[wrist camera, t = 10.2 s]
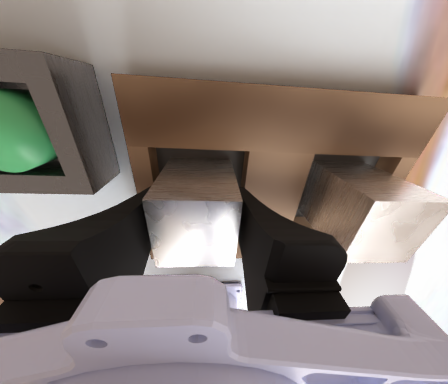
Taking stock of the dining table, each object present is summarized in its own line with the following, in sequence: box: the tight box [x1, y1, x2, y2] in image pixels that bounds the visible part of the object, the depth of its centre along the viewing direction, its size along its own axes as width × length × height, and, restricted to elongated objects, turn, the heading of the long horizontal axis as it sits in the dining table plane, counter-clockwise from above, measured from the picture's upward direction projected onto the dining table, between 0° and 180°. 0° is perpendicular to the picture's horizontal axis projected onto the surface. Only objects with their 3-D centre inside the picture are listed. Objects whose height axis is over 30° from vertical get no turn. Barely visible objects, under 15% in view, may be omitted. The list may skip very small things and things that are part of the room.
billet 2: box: [298, 161, 448, 263], centre depth 12 cm, size 4×4×6 cm
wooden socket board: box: [111, 73, 448, 259], centre depth 14 cm, size 14×20×2 cm
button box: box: [0, 49, 120, 195], centre depth 10 cm, size 7×7×4 cm
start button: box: [0, 88, 58, 173], centre depth 10 cm, size 4×4×3 cm
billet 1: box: [142, 158, 243, 268], centre depth 11 cm, size 4×4×6 cm
